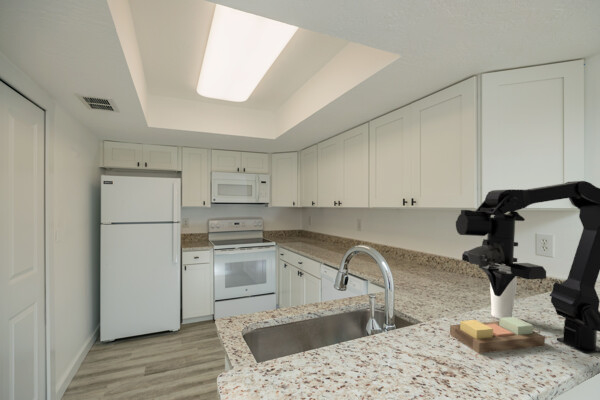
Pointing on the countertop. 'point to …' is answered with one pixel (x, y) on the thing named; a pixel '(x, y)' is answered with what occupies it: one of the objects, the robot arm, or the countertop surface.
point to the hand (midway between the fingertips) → (497, 295)
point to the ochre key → (476, 329)
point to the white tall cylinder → (503, 301)
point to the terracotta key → (499, 331)
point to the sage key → (516, 325)
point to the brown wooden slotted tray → (497, 340)
